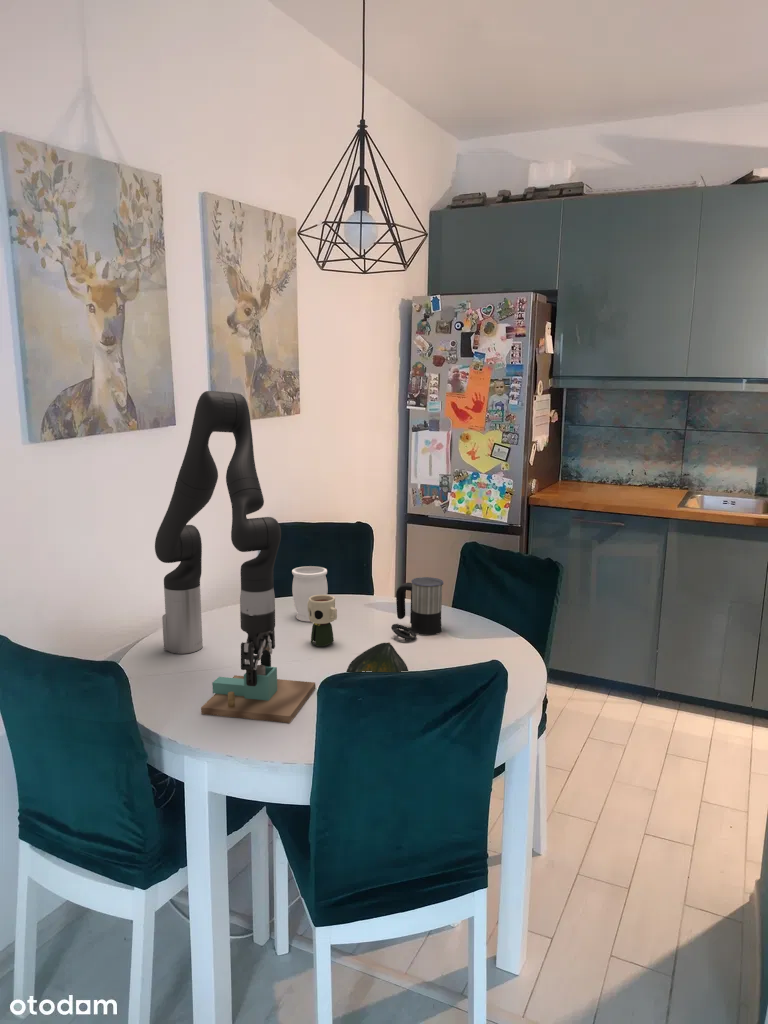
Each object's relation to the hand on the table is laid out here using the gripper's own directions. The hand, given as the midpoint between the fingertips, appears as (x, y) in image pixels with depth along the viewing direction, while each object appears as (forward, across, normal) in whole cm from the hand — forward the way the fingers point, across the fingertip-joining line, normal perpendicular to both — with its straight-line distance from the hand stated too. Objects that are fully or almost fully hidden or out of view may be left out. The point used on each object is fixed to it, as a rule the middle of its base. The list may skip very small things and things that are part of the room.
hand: (259, 677), depth 163 cm
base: (+5, 0, 0) cm, 5 cm away
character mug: (+6, -38, +3) cm, 38 cm away
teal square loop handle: (+4, 0, -4) cm, 5 cm away
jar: (+6, -59, -7) cm, 60 cm away
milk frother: (+6, -52, +27) cm, 59 cm away
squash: (+5, -3, +26) cm, 27 cm away
